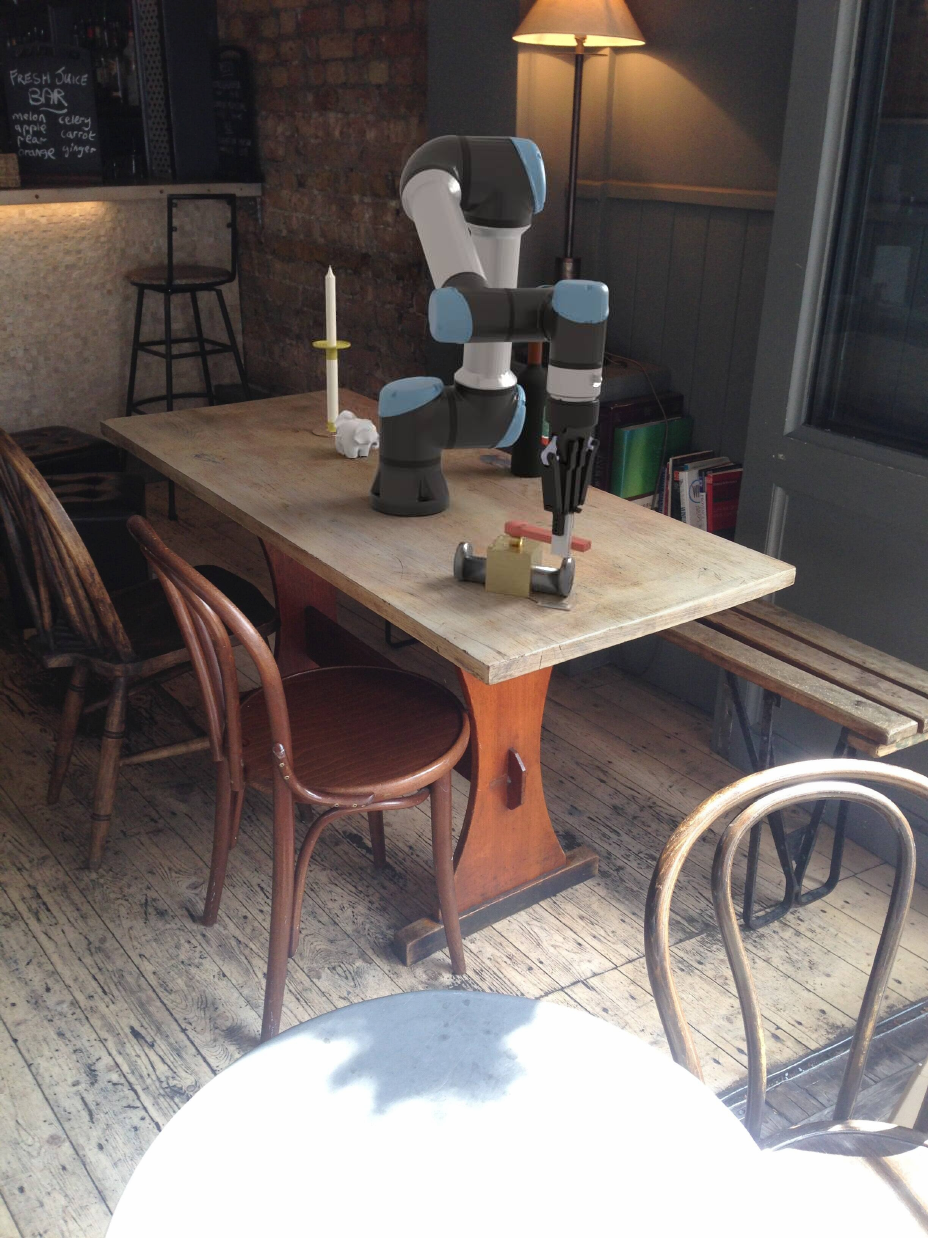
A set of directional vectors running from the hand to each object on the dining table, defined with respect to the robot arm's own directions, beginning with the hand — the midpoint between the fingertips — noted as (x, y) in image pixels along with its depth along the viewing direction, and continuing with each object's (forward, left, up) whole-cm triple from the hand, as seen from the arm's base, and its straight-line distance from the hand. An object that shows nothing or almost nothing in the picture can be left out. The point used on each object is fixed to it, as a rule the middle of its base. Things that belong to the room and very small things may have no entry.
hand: (560, 554), depth 163 cm
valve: (-7, +3, -8) cm, 11 cm away
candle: (-74, +79, -8) cm, 109 cm away
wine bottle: (-23, +66, -8) cm, 71 cm away
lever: (-3, +3, +1) cm, 4 cm away
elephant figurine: (-61, +64, -8) cm, 89 cm away
